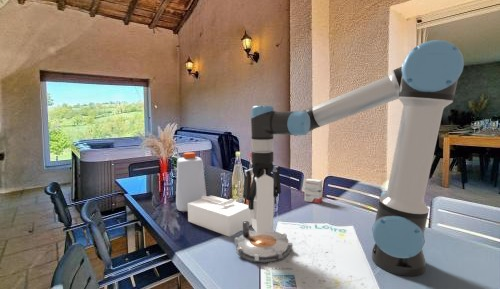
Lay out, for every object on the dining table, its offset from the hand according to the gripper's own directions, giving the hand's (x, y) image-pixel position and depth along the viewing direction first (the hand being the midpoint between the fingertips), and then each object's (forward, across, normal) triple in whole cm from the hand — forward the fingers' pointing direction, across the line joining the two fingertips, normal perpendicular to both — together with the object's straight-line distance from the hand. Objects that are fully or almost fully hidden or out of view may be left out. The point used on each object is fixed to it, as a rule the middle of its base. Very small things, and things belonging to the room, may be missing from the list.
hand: (262, 215), depth 96 cm
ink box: (+12, -51, -29) cm, 60 cm away
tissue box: (+13, +4, -29) cm, 32 cm away
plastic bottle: (+13, +8, -56) cm, 58 cm away
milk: (+5, 0, 0) cm, 5 cm away
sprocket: (+11, 0, 0) cm, 11 cm away
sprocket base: (+12, 0, 0) cm, 12 cm away
